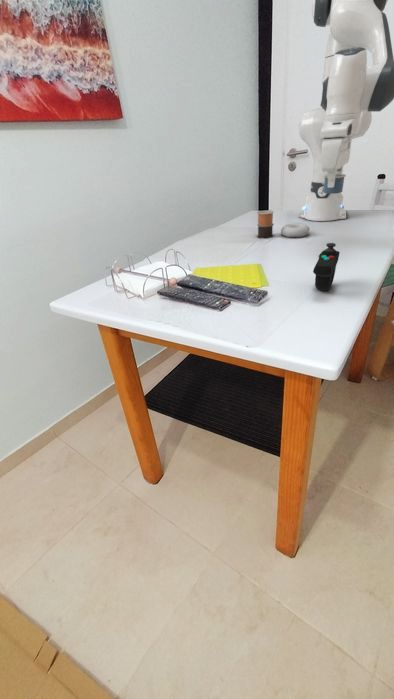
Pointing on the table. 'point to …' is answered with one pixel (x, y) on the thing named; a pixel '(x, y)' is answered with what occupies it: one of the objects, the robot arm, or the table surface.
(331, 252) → the controller
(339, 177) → the pod top
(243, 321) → the table surface
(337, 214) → the robot arm
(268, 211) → the cylinder
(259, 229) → the base
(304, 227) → the donut
